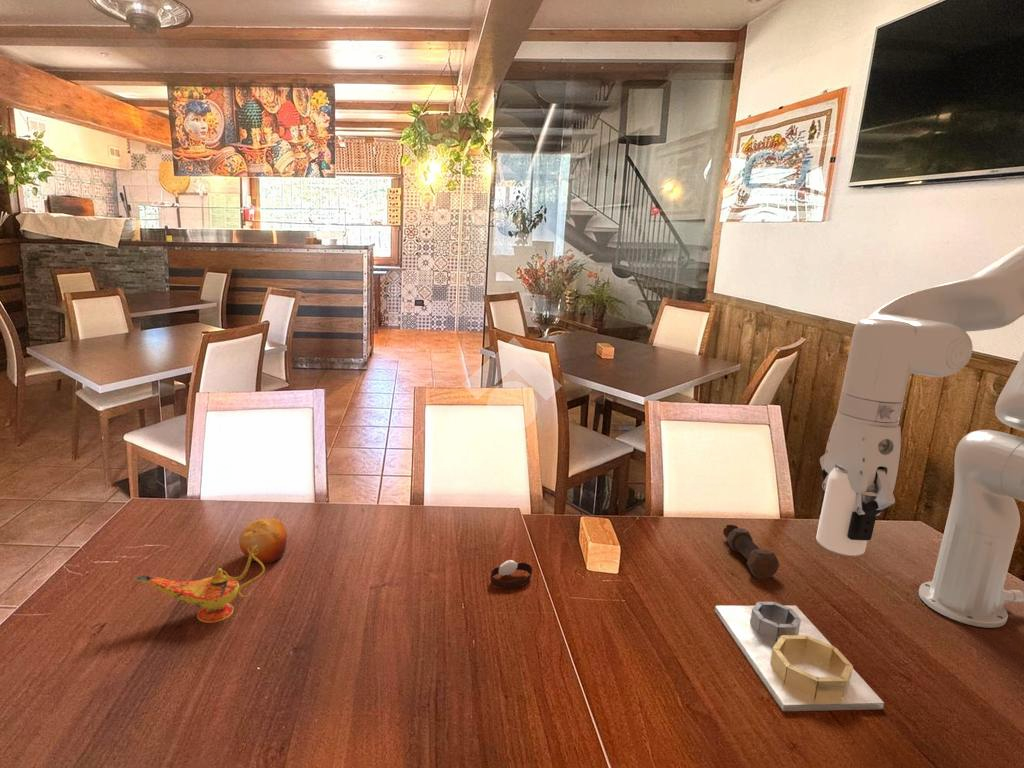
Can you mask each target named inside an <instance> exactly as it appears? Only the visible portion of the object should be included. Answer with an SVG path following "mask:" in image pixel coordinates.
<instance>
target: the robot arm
mask: <svg viewBox="0 0 1024 768" xmlns="http://www.w3.org/2000/svg"><path fill="white" fill-rule="evenodd" d="M1023 316H1024V244H1022V245H1021V246H1019V247H1017V248H1015V249H1014V250H1012V251H1010V252H1009V253H1007V254H1006V255H1004V256H1003V257H1000V258H999V259H998V260H996V261H995V262H993V263H991V264H990V265H988V266H987V267H985V268H984V269H982V270H980V271H979V272H976V273H975V274H974V275H972V276H971V277H969V278H965V279H959V280H954V281H950V282H946V283H943V284H940V285H936V286H932V287H927V288H923V289H921V290H915V291H913V292H910V293H907V294H904V295H901V296H898V297H897V298H895V299H893V300H891V301H890V302H888V303H886V304H885V305H883V306H882V307H880V308H879V309H877V310H875V311H874V312H872V313H871V314H869V316H868V317H866V318H864V319H860V320H859V321H858V322H857V323H855V326H854V328H853V332H852V337H851V342H850V347H849V351H848V358H847V361H846V367H845V373H844V377H843V382H842V387H841V392H840V397H839V403H838V406H837V412H836V415H835V417H834V421H833V423H832V425H831V429H830V432H829V437H828V440H827V443H826V447H825V452H824V454H823V455H822V456H820V458H819V464H820V466H821V470H822V471H821V476H822V479H823V481H822V484H821V488H822V489H823V494H822V497H821V503H820V508H819V512H818V515H819V516H820V515H821V510H822V505H823V500H824V495H825V491H826V486H827V481H828V477H829V474H830V472H831V471H832V470H833V469H834V465H835V466H836V468H838V469H839V470H841V471H844V472H847V473H848V474H847V477H848V480H849V482H850V486H851V489H852V490H853V491H855V492H856V512H852V516H851V520H850V525H849V530H848V534H847V537H848V538H849V539H851V540H868V541H870V540H871V539H872V537H873V533H874V527H875V524H876V520H877V516H880V515H881V513H882V512H884V511H886V509H887V508H889V507H890V506H892V505H893V504H895V503H896V499H895V496H894V491H895V486H896V482H897V476H898V471H899V465H900V457H901V446H902V445H901V444H902V431H901V428H902V427H901V426H899V422H900V417H901V414H902V408H903V405H904V399H905V395H906V391H907V386H908V382H909V378H910V375H921V376H925V377H931V378H944V377H949V376H952V375H954V374H957V373H958V372H960V371H961V370H963V368H964V367H965V366H966V365H968V363H969V361H970V359H971V358H972V354H973V349H974V348H973V341H972V339H971V336H969V334H968V332H981V331H988V330H989V331H990V330H995V329H997V330H998V329H1001V328H1004V327H1006V326H1009V325H1011V324H1013V323H1014V322H1015V321H1017V320H1018V319H1019V318H1021V317H1023ZM997 398H998V399H997V401H996V404H995V408H994V414H995V416H996V418H997V419H998V421H1000V422H1001V423H1002V424H1003V425H1006V426H1007V427H1010V428H1013V429H1015V430H1018V431H1022V432H1024V351H1023V353H1022V355H1021V356H1020V359H1019V360H1018V362H1017V364H1016V366H1015V367H1014V369H1013V370H1012V372H1011V374H1010V376H1009V377H1008V379H1007V381H1006V383H1005V385H1004V387H1003V388H1002V390H1001V392H1000V394H999V396H998V397H997ZM953 463H954V481H953V491H952V497H951V501H950V505H949V511H948V515H947V518H946V524H945V527H944V530H943V531H944V532H943V535H942V539H941V543H940V547H939V552H938V554H937V555H938V556H937V559H936V560H937V561H936V563H935V569H934V572H933V578H932V580H929V581H926V582H923V583H921V585H920V586H919V589H918V596H919V598H920V599H921V600H922V601H923V602H924V604H926V605H927V606H928V607H929V608H931V609H932V610H934V611H935V612H936V613H938V614H940V615H943V616H944V617H947V618H948V619H950V620H953V621H956V622H959V623H962V624H965V625H969V626H973V627H980V628H989V629H992V628H1000V627H1003V626H1004V625H1006V623H1007V621H1008V616H1009V615H1008V612H1007V610H1006V609H1005V608H1004V604H1008V603H1009V602H1012V603H1013V602H1017V603H1018V602H1019V603H1020V602H1024V592H1023V591H1022V590H1020V589H1008V590H1007V589H1005V586H1004V585H1005V582H1006V579H1007V575H1008V571H1009V568H1010V563H1011V560H1012V556H1013V553H1014V548H1015V545H1016V542H1017V538H1018V534H1019V531H1020V527H1021V517H1020V511H1019V507H1018V505H1017V502H1016V500H1018V501H1020V502H1023V503H1024V437H1022V436H1017V435H1014V434H1011V433H1008V432H1007V433H1006V432H1003V431H998V430H992V429H979V430H974V431H970V432H968V434H966V435H964V436H963V437H962V438H961V440H960V441H959V442H958V444H957V445H956V448H955V454H954V462H953ZM868 487H874V492H867V488H868ZM865 496H872V498H871V501H870V502H868V503H867V504H865ZM1015 499H1016V500H1015Z"/></svg>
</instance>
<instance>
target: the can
mask: <svg viewBox="0 0 1024 768" xmlns="http://www.w3.org/2000/svg"><path fill="white" fill-rule="evenodd" d="M847 474H848V473H847V472H844V471H841V470H839V469H838V468H836V466H835V465H834V469H833V470H832V471H831V472H830V474H829V477H828V481H827V486H826V490H824V491H825V495H824V500H823V505H822V510H821V515H819V519H818V520H819V521H818V526H817V532H816V538H815V540H816V541H817V544H818V545H819V546H821V548H823V549H825V550H826V551H829V552H831V553H834V554H837V555H841V556H846V557H858V556H861V555H863V554H865V552H866V549H867V544H868V541H869V540H851V539H849V538H848V537H847V534H848V530H849V525H850V520H851V516H852V512H856V492H855V491H853V490H852V489H851V486H850V482H849V480H848V477H847ZM867 492H874V487H868V488H867ZM871 498H872V496H865V504H867V503H868V502H870V501H871Z"/></svg>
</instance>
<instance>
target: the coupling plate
mask: <svg viewBox="0 0 1024 768" xmlns="http://www.w3.org/2000/svg"><path fill="white" fill-rule="evenodd" d="M714 606H715V607H714V612H715V614H716V615H717V617H718V619H719V620H720V621H721V623H722V624H723V626H724V627H725V628H726V630H727V632H728V633H729V635H730V636H731V637H732V639H733V641H734V642H735V644H736V645H737V647H738V648H739V649H740V651H741V652H742V654H743V655H744V656H745V658H746V660H747V661H748V662H749V664H750V665H751V667H752V669H753V670H754V671H755V673H756V674H757V676H758V677H759V679H760V681H761V682H762V683H763V684H764V686H765V688H766V690H767V691H768V692H769V693H770V695H771V696H772V698H773V699H774V701H775V702H776V703H777V705H778V707H779V709H781V711H782V712H812V711H813V712H814V711H816V712H817V711H820V712H821V711H822V712H823V711H859V710H862V711H863V710H883V709H884V705H885V701H883V700H882V699H881V698H880V697H879V695H878V694H877V693H876V692H875V691H874V690H873V689H872V688H871V687H870V685H869V684H867V682H866V681H865V680H864V678H863V677H861V675H860V674H859V673H858V672H857V671H856V670H855V669H854V666H853V664H852V663H851V662H850V661H849V659H847V657H845V655H844V654H843V653H842V652H841V651H840V649H838V648H837V647H836V646H834V645H832V643H830V641H829V640H828V639H827V638H826V637H825V636H824V635H823V633H822V632H821V631H820V630H819V629H818V628H817V627H816V626H815V625H814V623H813V622H812V621H810V620H809V618H808V617H807V616H806V615H805V614H804V612H802V610H801V609H799V607H798V606H797V605H783V604H781V603H778V602H775V601H757V602H756V603H755V605H714Z"/></svg>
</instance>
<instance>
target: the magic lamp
mask: <svg viewBox="0 0 1024 768" xmlns="http://www.w3.org/2000/svg"><path fill="white" fill-rule="evenodd" d="M256 547H257V545H256V546H254V547H249V548H253V549H252V551H251V552H250V551H249V548H248V549H247V550H248V552H249V553H250V554H249V557H251V558H249V557H247V561H246V565H245V568H244V569H243V572H242V573H241V574H240V575H238V576H231V575H229V574H228V573H227V572H226V570H224V569H222V568H221V567H219V568H217V569H216V572H215V574H214V575H212V576H210V577H206V578H201V579H196V580H190V581H189V580H188V581H187V580H186V581H179V580H178V581H177V580H172V579H168V578H164V577H163V578H162V577H159V576H152V575H140V576H137V577H135V578H134V581H135V582H141V583H144V584H146V585H149V586H151V587H153V588H155V589H157V590H158V591H160V592H161V593H163V594H166V596H169V597H172V598H174V599H176V600H179V601H181V602H185V603H188V604H190V605H192V606H195V607H198V608H201V609H199V611H198V612H197V615H196V618H197V620H199V621H200V622H202V623H207V624H208V623H209V624H210V623H211V624H212V623H217V622H221V621H224V620H226V619H227V618H229V617H230V616H232V614H233V613H234V610H235V608H234V605H232V604H231V603H230V602H232V601H233V600H234V599H235V598H236V597H237V595H238V596H240V597H242V598H246V597H249V595H250V591H249V590H247V592H248V594H247V595H242V593H241V592H240V591H241V589H242V588H244V587H245V586H247V585H249V584H250V583H251V582H253V581H255V580H257V579H258V578H260V577H261V576H263V574H264V573H265V571H266V567H265V565H264V563H262V562H261V561H260V560H258V559H257V558H256V557H255V556H254V555H255V554H258V549H257V548H256ZM255 549H256V550H257V553H253V552H254V550H255ZM252 557H253V558H254V559H255V560H256V561H257V563H258V564H259V565H260V566H261V567H262V571H261V572H260V573H259V574H258V575H257V576H255V577H253V578H251V579H249V580H247V581H246V582H244V583H243V584H241V585H240V583H239V581H241V580H242V579H243V578H244V577H245V576H246V574H247V573H248V570H249V568H250V567H251V566H250V565H251V562H252V560H251V559H252ZM256 561H255V562H256Z"/></svg>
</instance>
